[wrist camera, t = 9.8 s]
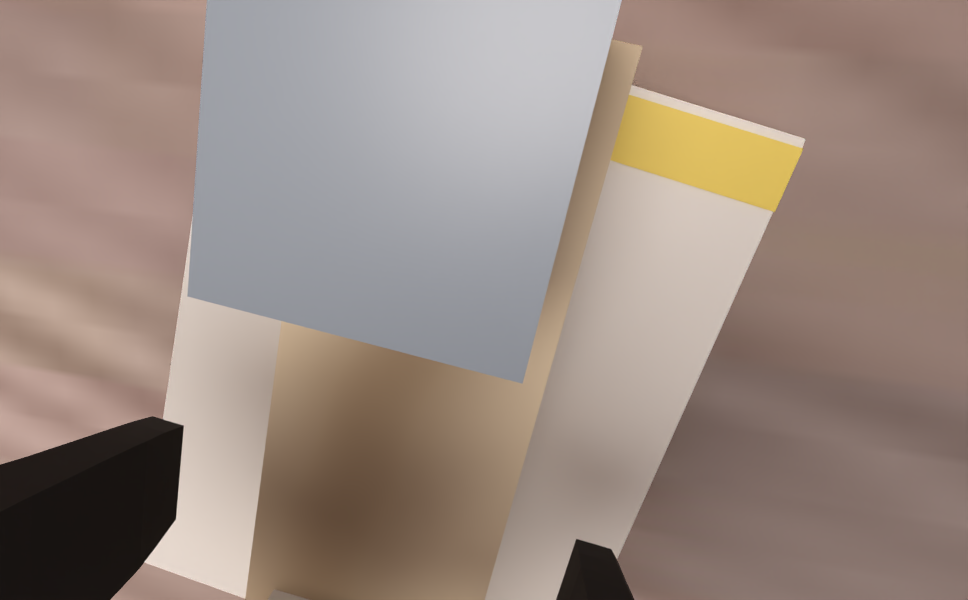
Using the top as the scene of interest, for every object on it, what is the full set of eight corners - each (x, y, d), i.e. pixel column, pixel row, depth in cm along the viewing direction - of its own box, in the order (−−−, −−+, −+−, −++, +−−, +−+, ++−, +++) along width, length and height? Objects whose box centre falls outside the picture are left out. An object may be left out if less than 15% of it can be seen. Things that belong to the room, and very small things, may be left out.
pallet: (624, 62, 13) (642, 46, 10) (457, 662, 19) (426, 804, 15) (396, 8, 14) (326, -28, 10) (296, 614, 19) (226, 740, 15)
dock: (777, 134, 15) (807, 139, 13) (552, 653, 21) (549, 711, 19) (271, -22, 16) (227, -41, 14) (181, 520, 21) (140, 563, 19)
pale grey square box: (605, 39, 10) (622, -3, 6) (542, 285, 11) (522, 383, 7) (353, -17, 10) (213, -89, 6) (320, 230, 11) (187, 296, 7)
